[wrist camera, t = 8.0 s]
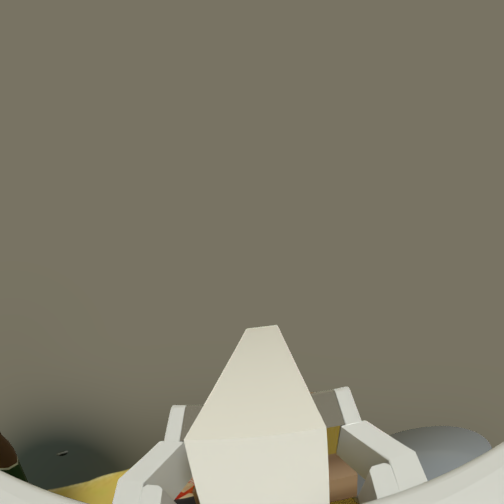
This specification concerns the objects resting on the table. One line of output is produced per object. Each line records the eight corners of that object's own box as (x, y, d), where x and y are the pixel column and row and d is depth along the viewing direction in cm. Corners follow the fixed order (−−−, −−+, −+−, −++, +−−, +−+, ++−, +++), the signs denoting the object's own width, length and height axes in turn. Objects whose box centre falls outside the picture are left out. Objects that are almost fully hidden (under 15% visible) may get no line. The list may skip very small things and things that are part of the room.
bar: (329, 520, 5) (326, 427, 5) (208, 530, 5) (183, 439, 5) (280, 354, 29) (277, 324, 29) (250, 358, 29) (246, 328, 29)
